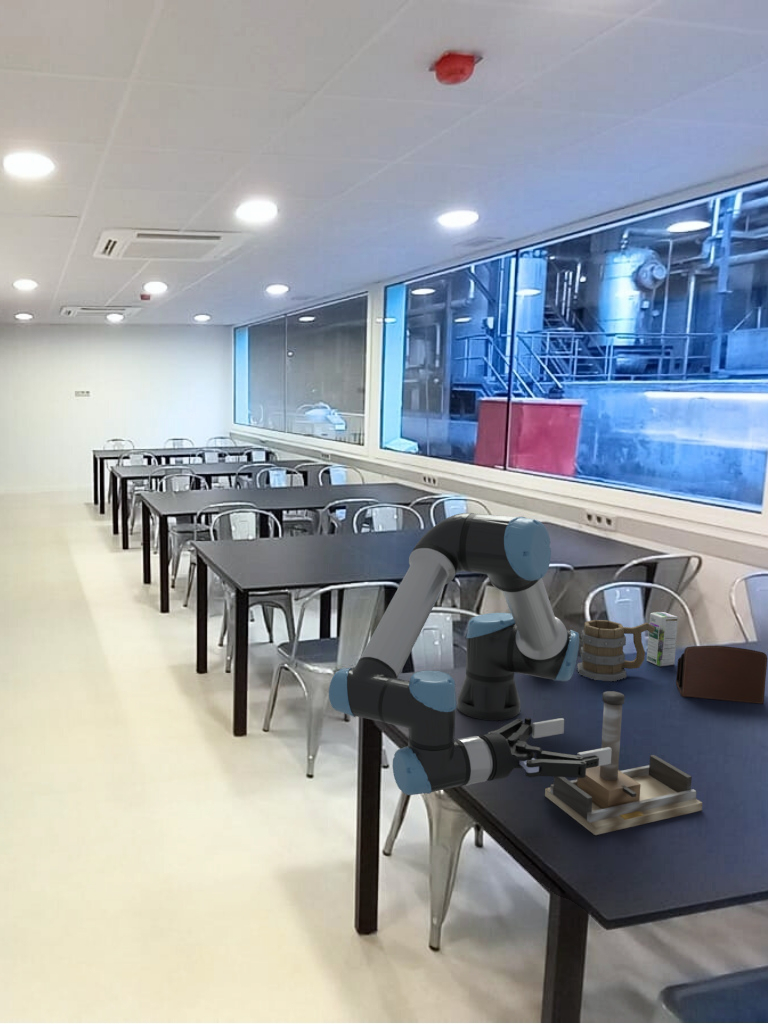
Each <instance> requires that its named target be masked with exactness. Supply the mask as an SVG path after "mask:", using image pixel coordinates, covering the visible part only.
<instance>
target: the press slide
mask: <svg viewBox="0 0 768 1024" xmlns="http://www.w3.org/2000/svg"><path fill="white" fill-rule="evenodd" d="M625 697H626V696H625V695H624V694H623V693H622V692H618V691H614V690H613V691H610V690H607V691H604V692H602V702H603V714H602V728H601V729H602V730H601V747H600V749H601V748H606V747H610V748H611V749H612V753H611V764H607V765H602V766H597V767H592V768H586V777H585V778H576V780H577V787H579V788H580V789H581V790H583V791H584V792H586V793H587V794H588V795H590V796H591V797H593V798H592V801H593V802H595V803H596V804H597V805H599V806H600V807H602V808H603V809H605V808H609V807H614V806H618V805H623V804H628V803H632V802H637V801H639V800H640V785H641V784H639V783H638V782H636V781H635V780H633V779H632V778H630V777H629V776H627V775H625V774H624V773H622V772H621V771H622V770H620V769H619V766H620V765H619V761H620V749H621V747H620V746H621V733H622V732H621V731H622V715H623V705H624V704H625Z"/></svg>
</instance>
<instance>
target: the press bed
mask: <svg viewBox="0 0 768 1024" xmlns="http://www.w3.org/2000/svg"><path fill="white" fill-rule="evenodd" d="M620 771H621V772H622V773H624V774H625V775H627V776H629V777H630V778H632V779H633V780H635V781H636V782H638V783H639V784H641V785H640V800H639V801H637V802H632V803H628V804H623V805H618V806H614V807H609V808H605V809H603V808H602V807H600V806H599V805H597V804H596V803H595V802H593V801H592V798H593V797H591V796H590V795H588V794H587V793H586V792H584V791H583V790H581V789H580V788H579V787H577V779H573V780H569V779H568V778H567V777H553V784H550V787H546V788H545V789H544V796H545V797H546V798H547V799H548V800H550V801H551V802H552V803H553V804H554V805H556V806H558V807H559V808H560V809H561V810H562V811H564V813H566V814H568V815H569V816H570V817H571V818H572V819H574V820H575V821H576V822H577V823H579V824H580V825H582V826H583V827H584V828H585V829H586V830H588V831H589V832H590V833H592V834H593V836H594V835H595V836H597V835H604V834H606V833H611V832H615V831H619V830H623V829H629V828H633V827H637V826H641V825H645V824H649V823H654V822H658V821H662V820H663V821H664V820H666V819H671V818H675V817H680V816H685V815H689V814H692V813H696V812H700V811H701V812H702V810H703V801H701V800H699V799H697V790H695V789H694V788H693V789H692V781H693V780H692V776H691V775H690V774H688V773H686V772H684V770H681V769H679V768H678V767H676V766H674V765H672V764H671V763H669V762H667V761H666V760H664V759H662V758H661V757H660V756H657V755H656V754H651V755H650V756H649V763H648V765H644V766H638V767H633V768H628V769H624V770H623V769H622V770H620Z"/></svg>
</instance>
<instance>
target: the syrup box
mask: <svg viewBox="0 0 768 1024" xmlns="http://www.w3.org/2000/svg"><path fill="white" fill-rule="evenodd" d="M678 621H679V616H676V615H673V614H670V613H667V612H666V611H664V612H663V611H655V612H651V613H650V614H649V624H650V625H652V626H653V627H655V630H654V631H653V633H651V632H649V631H648V639H647V654H646V662H649V663H650V664H651V663H652V664H654V665H655V666H658V667H666V666H674V665H675V661H676V660H675V659H676V647H677V636H678V635H677V634H678V623H679V622H678Z"/></svg>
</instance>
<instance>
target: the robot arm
mask: <svg viewBox="0 0 768 1024" xmlns="http://www.w3.org/2000/svg"><path fill="white" fill-rule="evenodd" d="M550 545H551V538H550V534H549V532H548V530H547V527H546V526H545V524H543V522H541V521H539V520H538V519H534V518H527V517H525V516H508V515H496V514H495V515H494V514H483V513H474V512H463V513H457V514H454V515H451V516H448V517H446V518H445V519H443V520H441V521H439V522H437V524H435V525H434V526H432V527H431V528H430V529H429V530H427V532H426V533H424V535H423V536H422V537H421V538H420V539H419V541H417V542H416V544H415V546H414V548H413V550H412V551H411V552H410V555H409V556H408V557H409V558H408V564H409V567H408V569H407V571H406V573H405V574H404V576H403V578H402V580H401V581H400V584H399V586H398V587H397V590H396V591H395V593H394V595H393V596H392V599H391V600H390V602H389V604H388V605H387V608H386V610H385V612H384V613H383V615H382V617H381V619H380V621H379V622H378V624H377V625H376V626H377V627H376V628H375V630H374V632H373V634H372V636H371V637H370V638H369V639H370V640H369V641H368V643H367V645H366V647H365V648H364V650H363V652H362V654H361V656H360V657H359V659H358V661H357V663H356V664H355V666H354V668H351V667H347V668H346V667H345V668H343V667H342V668H340V669H338V671H336V672H335V673H334V674H333V676H332V678H331V680H330V683H329V687H328V700H329V703H330V705H331V707H332V708H333V709H334V710H335V711H337V712H340V713H343V714H345V715H348V716H351V717H353V718H356V717H359V718H363V719H368V720H370V721H371V720H372V721H377V722H381V723H385V724H390V725H393V726H398V727H401V728H406V729H408V739H407V740H408V741H407V742H408V744H407V746H404V747H401V748H398V749H397V750H396V751H395V752H394V755H393V756H394V757H393V758H392V772H393V777H394V781H395V783H396V785H397V788H398V789H399V790H400V792H401V793H403V794H405V795H406V796H415V795H423V794H432V793H434V792H438V791H442V790H447V789H453V788H457V787H464V786H466V787H469V786H470V785H473V784H478V783H484V782H486V781H489V782H491V781H495V780H502V779H505V778H507V777H509V776H510V774H511V773H512V772H513V771H514V769H524V770H525V776H526V777H528V778H535V777H553V778H554V777H565V778H575V779H577V778H585V777H586V768H592V767H597V766H602V765H607V764H611V753H612V749H611V748H610V747H606V748H601V747H600V748H596V749H591V750H586V751H580V752H577V755H575V754H569V753H562V752H556V751H555V752H552V751H548V750H543V749H542V748H541V747H538V746H532V745H529V744H528V742H527V741H528V740H529V739H530V737H532V738H533V739H538V738H545V737H551V736H556V735H561V734H562V735H563V734H564V733H565V732H564V731H565V719H564V718H563V717H561V718H553V719H547V720H542V721H537V722H535V721H534V722H532V719H531V718H529V717H525V718H524V721H523V719H522V718H517V719H514V720H513V721H511V722H509V723H507V724H505V725H504V726H502V727H500V728H498V729H496V730H492V731H489V732H487V734H480V735H479V736H477V735H474V736H473V735H472V736H468V737H462V738H457V739H455V736H456V735H455V734H456V732H455V731H456V714H457V713H456V711H457V710H458V711H459V712H460V713H462V714H463V715H465V716H467V717H470V718H475V719H479V720H485V721H503V720H509V719H512V718H515V717H517V716H518V715H519V714H520V712H521V699H520V695H519V693H518V689H517V685H516V682H515V674H521V675H522V674H523V675H527V676H533V677H538V678H542V679H548V680H553V681H560V682H568V681H569V680H571V679H572V677H573V674H574V671H575V668H576V666H577V665H576V664H577V659H578V654H579V648H580V634H579V632H577V631H575V630H572V629H569V630H567V627H566V626H565V623H563V621H562V620H561V619H560V618H558V617H556V616H555V614H554V610H553V607H552V604H551V601H550V597H549V595H548V592H547V589H546V586H545V583H544V580H543V578H544V577H545V576H546V574H547V572H548V570H549V567H550V564H551V558H552V548H551V546H550ZM459 572H468V573H474V574H475V573H476V574H483V575H486V576H487V578H488V580H489V582H490V583H491V585H492V586H493V587H494V588H496V589H497V590H499V591H501V592H502V594H503V596H504V599H505V602H506V604H507V607H508V609H509V611H510V612H489V613H483V614H479V615H476V616H473V617H472V618H471V619H470V620H469V621H468V622H467V623H468V624H467V633H466V636H465V638H466V649H465V650H466V652H465V655H466V656H465V675H464V677H465V678H464V679H463V683H462V685H461V688H460V691H459V693H458V696H457V697H456V693H457V692H456V681H455V680H454V678H453V677H452V676H451V675H450V674H449V673H446V672H444V671H439V670H429V669H427V670H421V671H417V672H415V673H413V674H412V675H411V677H410V680H408V679H400V678H399V676H400V674H401V673H402V670H403V668H404V666H405V664H406V662H407V660H408V658H409V657H410V655H411V652H412V650H413V648H414V646H415V644H416V642H417V640H418V638H419V636H420V634H421V633H422V630H423V628H424V627H425V624H426V622H427V620H428V619H429V616H430V614H431V612H432V610H433V609H434V606H435V604H436V602H437V601H438V599H439V596H440V594H441V592H442V591H443V588H444V586H445V585H447V584H449V583H451V582H452V581H453V580H454V579H455V576H456V574H457V573H459ZM456 709H457V710H456ZM535 755H536V757H535Z"/></svg>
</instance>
